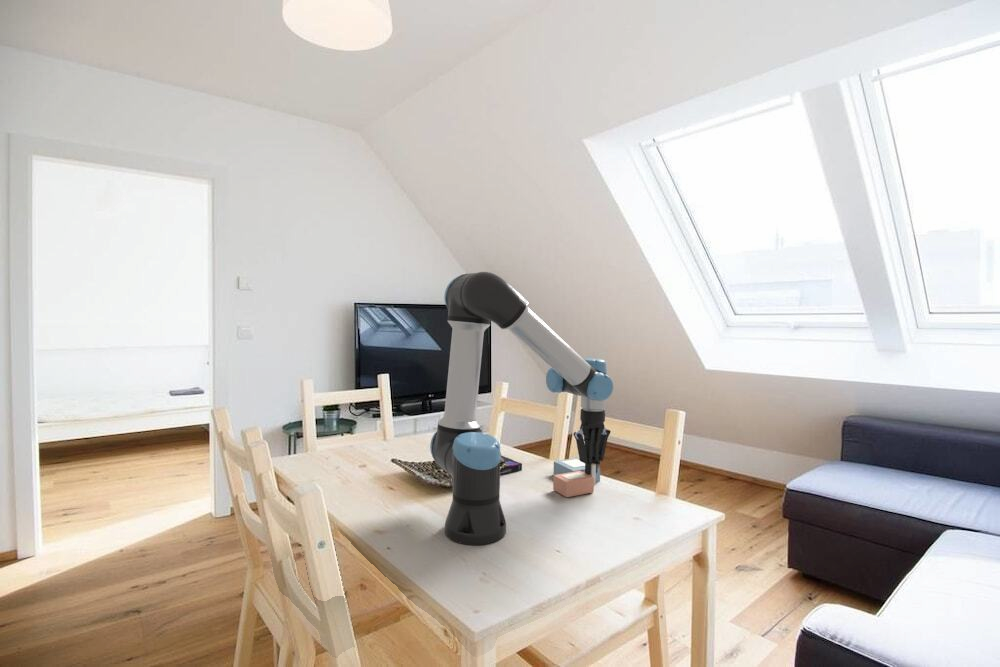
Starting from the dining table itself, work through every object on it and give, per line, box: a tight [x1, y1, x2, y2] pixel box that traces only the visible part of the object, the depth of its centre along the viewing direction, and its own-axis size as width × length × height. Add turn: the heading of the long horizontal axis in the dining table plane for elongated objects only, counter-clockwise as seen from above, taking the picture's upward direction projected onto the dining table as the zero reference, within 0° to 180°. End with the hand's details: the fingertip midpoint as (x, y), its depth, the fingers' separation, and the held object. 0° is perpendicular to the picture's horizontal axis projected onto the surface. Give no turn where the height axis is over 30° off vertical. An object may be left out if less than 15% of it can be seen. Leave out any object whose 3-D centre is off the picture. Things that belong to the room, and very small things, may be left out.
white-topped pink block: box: [552, 471, 595, 498], centre depth 152 cm, size 7×10×5 cm
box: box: [500, 454, 523, 477], centre depth 171 cm, size 14×4×20 cm
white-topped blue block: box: [552, 457, 601, 483], centre depth 165 cm, size 12×10×5 cm
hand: (590, 484), depth 155 cm, fingers closed
